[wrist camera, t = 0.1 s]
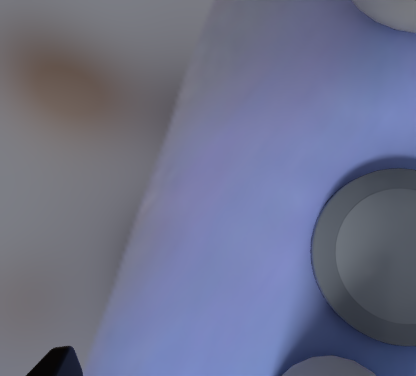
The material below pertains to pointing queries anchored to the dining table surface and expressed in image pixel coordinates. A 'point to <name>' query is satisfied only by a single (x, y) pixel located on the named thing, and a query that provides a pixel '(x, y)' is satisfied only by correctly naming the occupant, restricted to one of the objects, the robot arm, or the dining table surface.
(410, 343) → the dish
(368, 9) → the donut
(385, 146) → the dining table surface
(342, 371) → the can
